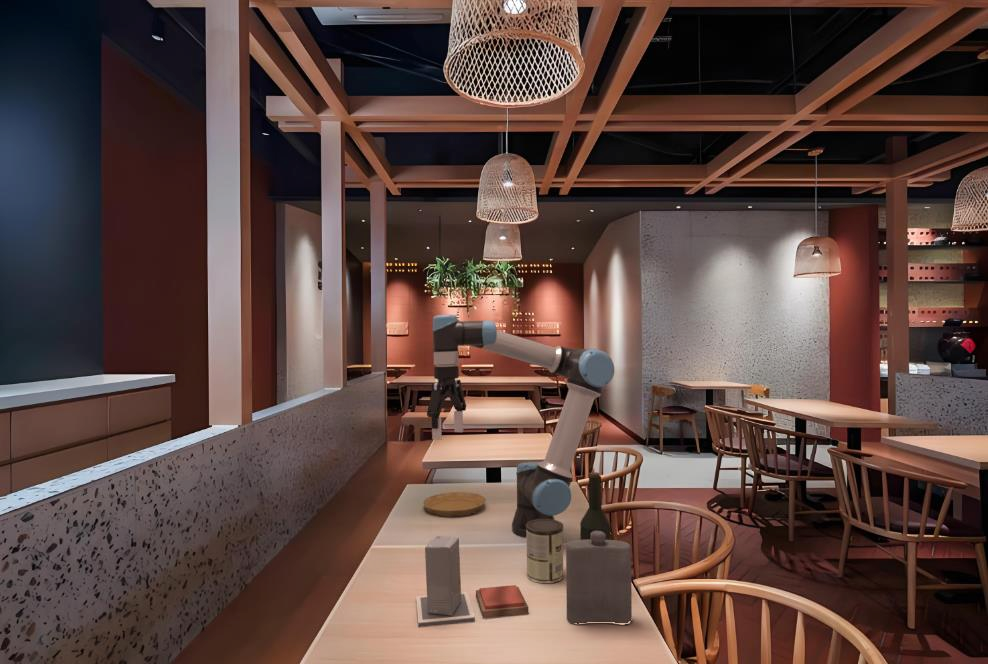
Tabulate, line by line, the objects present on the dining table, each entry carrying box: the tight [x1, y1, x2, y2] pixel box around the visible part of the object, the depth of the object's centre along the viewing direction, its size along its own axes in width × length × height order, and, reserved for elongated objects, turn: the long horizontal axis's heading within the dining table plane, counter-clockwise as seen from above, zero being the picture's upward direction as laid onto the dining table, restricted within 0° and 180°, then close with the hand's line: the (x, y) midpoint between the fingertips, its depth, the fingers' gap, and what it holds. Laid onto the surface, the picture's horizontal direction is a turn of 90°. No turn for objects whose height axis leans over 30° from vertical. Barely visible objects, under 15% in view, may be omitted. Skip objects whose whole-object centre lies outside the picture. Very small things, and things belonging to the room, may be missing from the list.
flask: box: [565, 531, 633, 624], centre depth 128 cm, size 15×6×20 cm, turn 88°
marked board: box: [415, 591, 476, 628], centre depth 132 cm, size 13×13×1 cm
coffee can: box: [525, 519, 565, 584], centre depth 151 cm, size 10×10×14 cm
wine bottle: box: [579, 471, 612, 540], centre depth 143 cm, size 8×8×30 cm
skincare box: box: [424, 535, 462, 616], centre depth 132 cm, size 8×7×16 cm
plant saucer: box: [422, 491, 487, 517], centre depth 212 cm, size 24×24×3 cm
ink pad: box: [475, 584, 529, 619], centre depth 134 cm, size 11×11×2 cm
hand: (448, 435), depth 166 cm, fingers open, 13 cm apart
